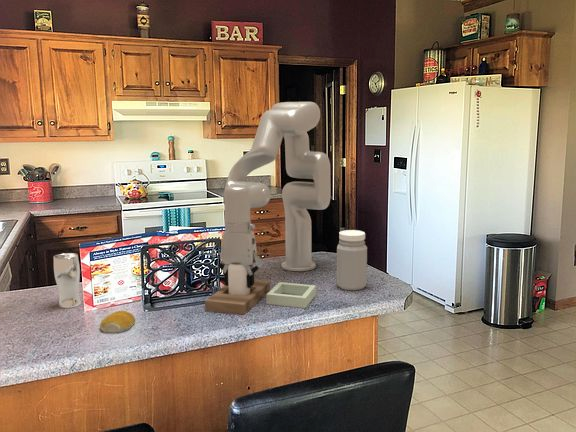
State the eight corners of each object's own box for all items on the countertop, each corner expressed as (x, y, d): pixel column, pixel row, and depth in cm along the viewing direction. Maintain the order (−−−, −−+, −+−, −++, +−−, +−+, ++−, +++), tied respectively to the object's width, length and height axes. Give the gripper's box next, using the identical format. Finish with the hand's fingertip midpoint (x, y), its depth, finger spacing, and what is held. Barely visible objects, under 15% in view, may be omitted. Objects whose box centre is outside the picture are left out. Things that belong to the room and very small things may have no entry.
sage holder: (279, 291, 164) (279, 282, 163) (316, 294, 160) (316, 285, 160) (266, 303, 152) (266, 294, 152) (305, 308, 149) (305, 298, 148)
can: (240, 305, 152) (239, 265, 149) (224, 300, 155) (223, 262, 153) (254, 299, 157) (253, 260, 154) (239, 294, 161) (238, 257, 158)
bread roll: (139, 321, 141) (138, 307, 140) (126, 334, 132) (125, 319, 131) (109, 320, 142) (108, 306, 141) (95, 333, 133) (93, 318, 132)
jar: (363, 292, 162) (364, 236, 158) (333, 289, 165) (333, 234, 161) (368, 283, 171) (369, 230, 167) (339, 280, 174) (340, 228, 170)
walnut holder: (235, 287, 168) (235, 278, 168) (270, 290, 165) (270, 281, 164) (205, 310, 148) (204, 300, 147) (244, 314, 144) (243, 304, 143)
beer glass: (60, 301, 156) (55, 253, 153) (84, 299, 157) (80, 252, 155) (54, 309, 149) (50, 259, 147) (80, 307, 151) (76, 258, 148)
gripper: (269, 226, 153) (270, 284, 156) (216, 223, 158) (218, 279, 161) (260, 231, 146) (262, 292, 149) (205, 228, 151) (207, 286, 154)
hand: (239, 285), depth 155 cm, fingers closed on can, 6 cm apart
